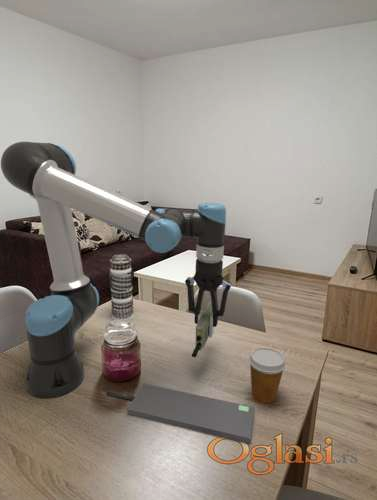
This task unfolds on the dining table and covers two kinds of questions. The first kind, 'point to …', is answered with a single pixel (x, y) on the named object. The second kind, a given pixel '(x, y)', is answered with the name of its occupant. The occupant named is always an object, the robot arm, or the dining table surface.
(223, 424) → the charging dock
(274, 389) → the disposable coffee cup
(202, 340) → the handheld radio
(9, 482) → the dining table surface
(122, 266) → the decorative candle
